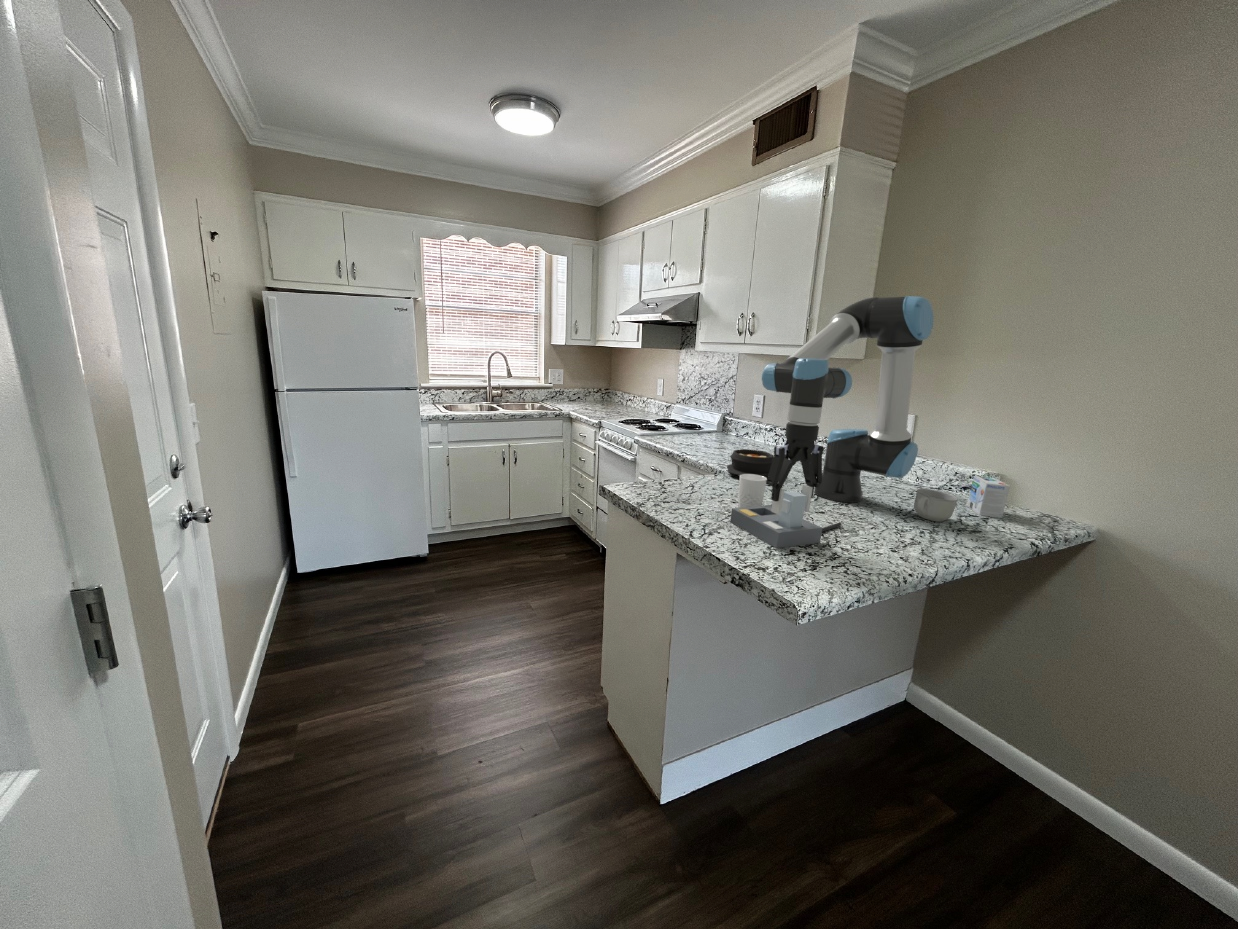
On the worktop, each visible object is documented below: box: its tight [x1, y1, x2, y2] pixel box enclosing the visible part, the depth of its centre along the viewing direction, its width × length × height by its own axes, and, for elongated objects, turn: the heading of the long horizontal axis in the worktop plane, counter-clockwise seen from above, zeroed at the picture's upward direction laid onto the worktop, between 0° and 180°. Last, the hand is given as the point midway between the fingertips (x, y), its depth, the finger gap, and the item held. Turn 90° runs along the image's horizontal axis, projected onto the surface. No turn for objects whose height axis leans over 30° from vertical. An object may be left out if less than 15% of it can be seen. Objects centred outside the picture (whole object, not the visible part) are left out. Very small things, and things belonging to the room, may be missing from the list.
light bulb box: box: [966, 475, 1011, 519], centre depth 165 cm, size 11×7×11 cm, turn 165°
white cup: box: [737, 474, 767, 508], centre depth 152 cm, size 8×8×10 cm
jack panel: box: [729, 504, 823, 549], centre depth 135 cm, size 14×19×4 cm
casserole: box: [726, 448, 774, 478], centre depth 197 cm, size 25×19×8 cm
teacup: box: [913, 488, 959, 523], centre depth 154 cm, size 14×11×8 cm
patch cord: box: [822, 521, 842, 533], centre depth 138 cm, size 16×1×1 cm, turn 128°
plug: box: [778, 490, 806, 529], centre depth 129 cm, size 5×4×12 cm
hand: (790, 511), depth 129 cm, fingers open, 8 cm apart
